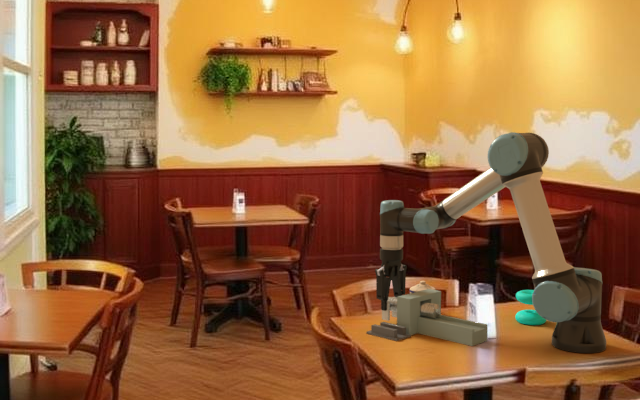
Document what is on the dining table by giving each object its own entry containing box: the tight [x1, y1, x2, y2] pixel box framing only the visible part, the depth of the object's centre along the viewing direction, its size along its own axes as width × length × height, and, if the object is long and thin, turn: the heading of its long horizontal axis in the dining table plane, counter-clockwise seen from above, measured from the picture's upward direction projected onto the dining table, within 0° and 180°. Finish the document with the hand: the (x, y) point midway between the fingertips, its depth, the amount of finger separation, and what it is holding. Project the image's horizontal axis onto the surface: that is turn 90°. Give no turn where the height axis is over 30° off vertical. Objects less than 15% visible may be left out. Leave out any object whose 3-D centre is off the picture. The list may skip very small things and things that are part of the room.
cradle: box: [365, 321, 412, 342], centre depth 234 cm, size 12×7×3 cm, turn 45°
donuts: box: [514, 289, 547, 326], centre depth 249 cm, size 10×10×10 cm
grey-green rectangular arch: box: [396, 289, 442, 336], centre depth 241 cm, size 5×16×11 cm, turn 135°
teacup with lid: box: [408, 280, 437, 294], centre depth 261 cm, size 12×9×12 cm
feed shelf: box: [417, 314, 488, 347], centre depth 232 cm, size 20×8×5 cm, turn 45°
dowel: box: [388, 296, 440, 318], centre depth 243 cm, size 20×4×4 cm, turn 47°
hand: (390, 318), depth 249 cm, fingers closed on dowel, 4 cm apart
